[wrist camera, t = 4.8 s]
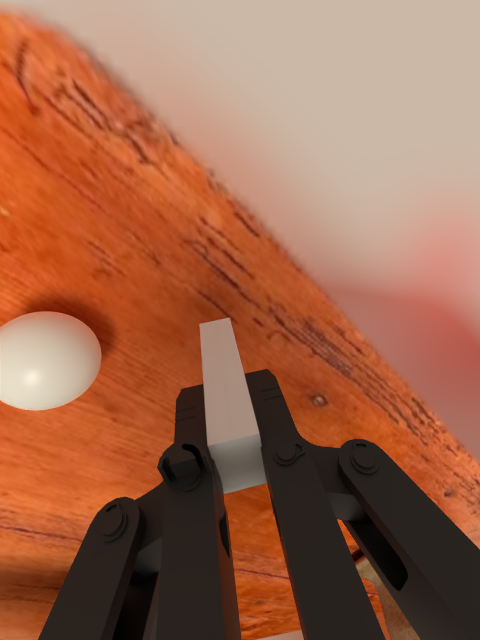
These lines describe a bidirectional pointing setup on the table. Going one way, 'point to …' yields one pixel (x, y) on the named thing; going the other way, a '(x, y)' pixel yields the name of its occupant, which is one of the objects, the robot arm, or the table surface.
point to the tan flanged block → (387, 604)
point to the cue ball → (46, 360)
